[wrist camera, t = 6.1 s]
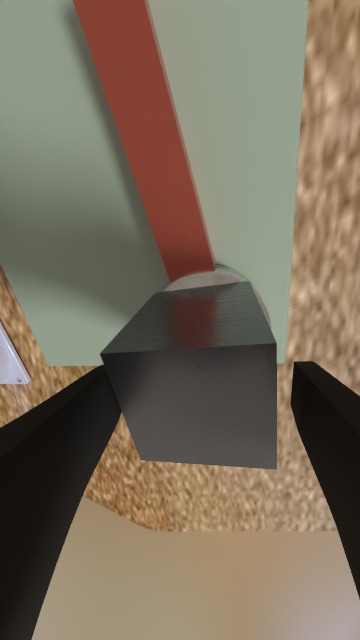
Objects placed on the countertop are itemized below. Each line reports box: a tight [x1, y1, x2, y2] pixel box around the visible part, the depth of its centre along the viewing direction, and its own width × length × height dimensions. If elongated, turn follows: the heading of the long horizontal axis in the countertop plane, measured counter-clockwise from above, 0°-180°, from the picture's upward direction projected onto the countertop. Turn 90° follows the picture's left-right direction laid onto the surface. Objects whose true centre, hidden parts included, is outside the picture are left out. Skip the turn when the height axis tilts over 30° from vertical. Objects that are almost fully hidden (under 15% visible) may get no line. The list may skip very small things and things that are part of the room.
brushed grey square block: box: [100, 281, 277, 469], centre depth 10 cm, size 5×5×6 cm
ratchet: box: [73, 0, 272, 331], centre depth 10 cm, size 18×7×6 cm, turn 18°
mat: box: [0, 0, 308, 366], centre depth 13 cm, size 20×24×1 cm
